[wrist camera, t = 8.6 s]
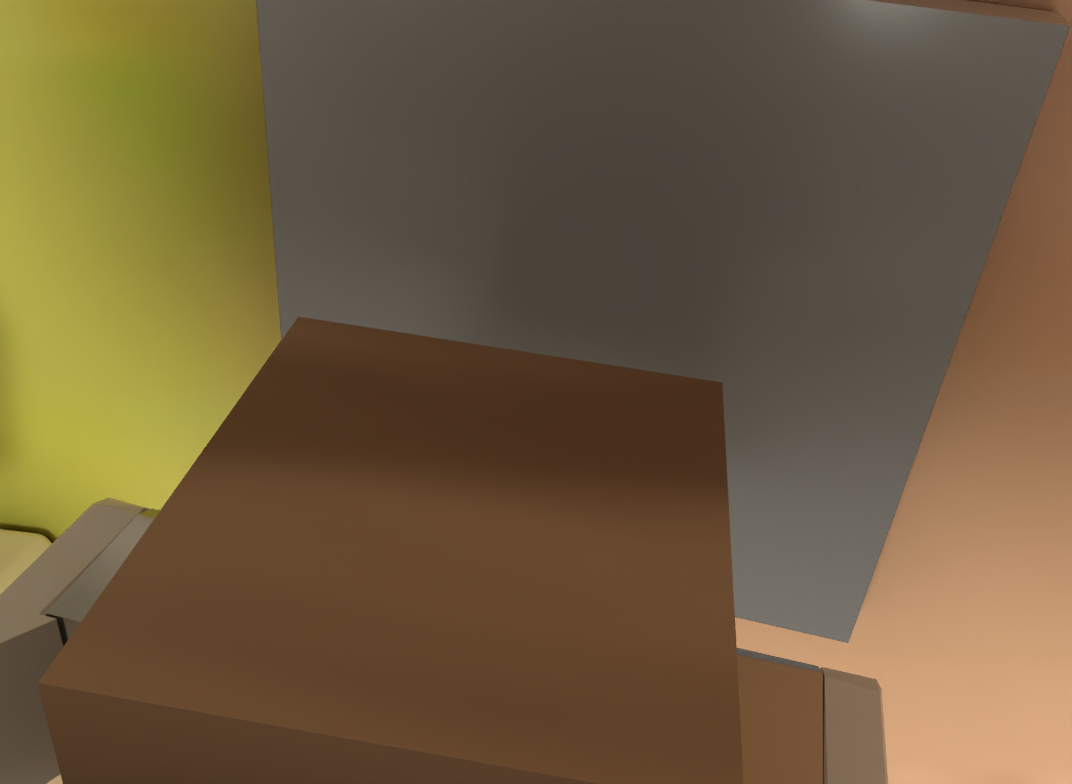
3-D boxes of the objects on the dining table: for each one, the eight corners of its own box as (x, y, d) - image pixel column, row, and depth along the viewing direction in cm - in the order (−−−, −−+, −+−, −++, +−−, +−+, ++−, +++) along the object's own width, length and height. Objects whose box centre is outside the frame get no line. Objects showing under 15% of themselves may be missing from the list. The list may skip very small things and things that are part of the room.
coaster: (278, -87, 13) (250, -79, 13) (1055, 12, 12) (1070, 25, 11) (312, 489, 19) (294, 515, 18) (847, 609, 17) (848, 642, 17)
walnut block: (298, 316, 10) (36, 683, 6) (721, 382, 10) (744, 810, 6) (308, 618, 13) (125, 1027, 9) (650, 677, 13) (631, 1127, 8)
